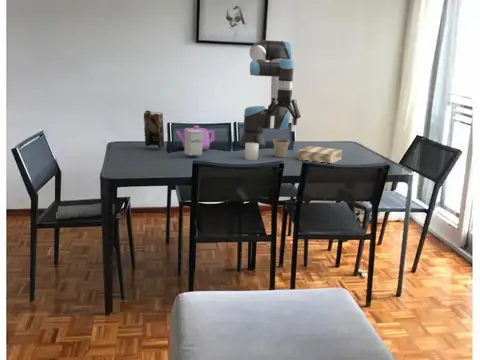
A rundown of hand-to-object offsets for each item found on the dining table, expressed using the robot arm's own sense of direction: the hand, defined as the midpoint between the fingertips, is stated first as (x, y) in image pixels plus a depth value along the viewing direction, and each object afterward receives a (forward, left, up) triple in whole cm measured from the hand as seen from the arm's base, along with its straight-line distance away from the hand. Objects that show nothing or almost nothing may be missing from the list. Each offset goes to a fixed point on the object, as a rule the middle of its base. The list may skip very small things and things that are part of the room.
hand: (282, 129), depth 304 cm
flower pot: (0, 0, -15) cm, 15 cm away
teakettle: (-46, -17, -15) cm, 51 cm away
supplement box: (-33, -33, -15) cm, 49 cm away
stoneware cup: (-6, -18, -15) cm, 24 cm away
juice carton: (-61, -35, -15) cm, 72 cm away
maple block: (+18, +11, -15) cm, 26 cm away
